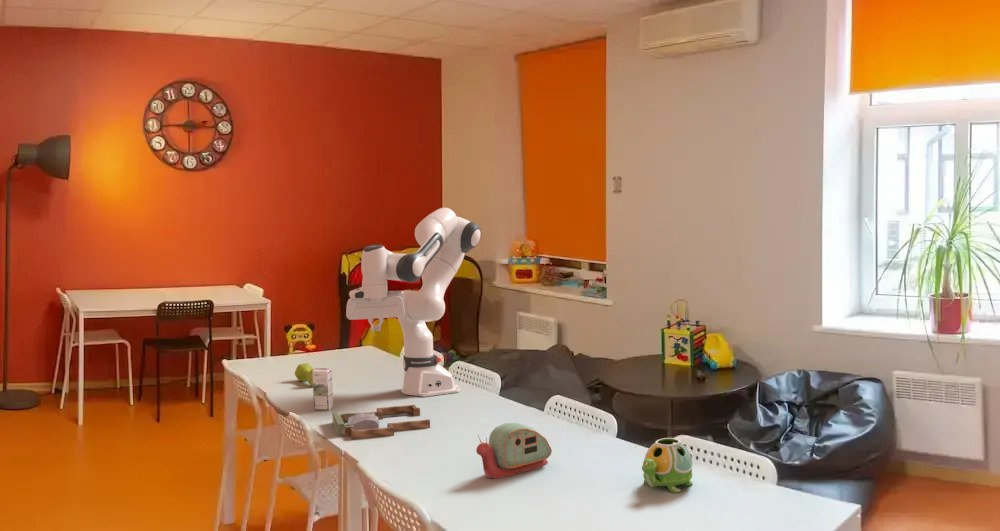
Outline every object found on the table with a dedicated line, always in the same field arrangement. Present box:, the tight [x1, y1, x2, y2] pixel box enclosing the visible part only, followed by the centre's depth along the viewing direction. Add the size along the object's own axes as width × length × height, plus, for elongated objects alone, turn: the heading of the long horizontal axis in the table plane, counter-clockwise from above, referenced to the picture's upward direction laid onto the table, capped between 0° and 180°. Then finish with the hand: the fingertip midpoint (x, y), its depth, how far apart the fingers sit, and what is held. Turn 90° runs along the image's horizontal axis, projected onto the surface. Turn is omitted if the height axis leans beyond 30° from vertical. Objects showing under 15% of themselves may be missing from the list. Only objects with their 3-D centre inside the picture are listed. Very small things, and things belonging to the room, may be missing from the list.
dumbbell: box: [294, 363, 315, 388], centre depth 365 cm, size 16×8×7 cm, turn 34°
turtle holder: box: [641, 437, 694, 494], centre depth 237 cm, size 12×18×12 cm
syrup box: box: [312, 367, 334, 411], centre depth 324 cm, size 6×6×14 cm
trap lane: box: [331, 404, 431, 440], centre depth 301 cm, size 30×27×4 cm
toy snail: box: [475, 422, 553, 479], centre depth 252 cm, size 25×8×14 cm, turn 129°
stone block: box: [347, 412, 380, 430], centre depth 300 cm, size 12×5×10 cm
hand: (376, 330), depth 316 cm, fingers closed
